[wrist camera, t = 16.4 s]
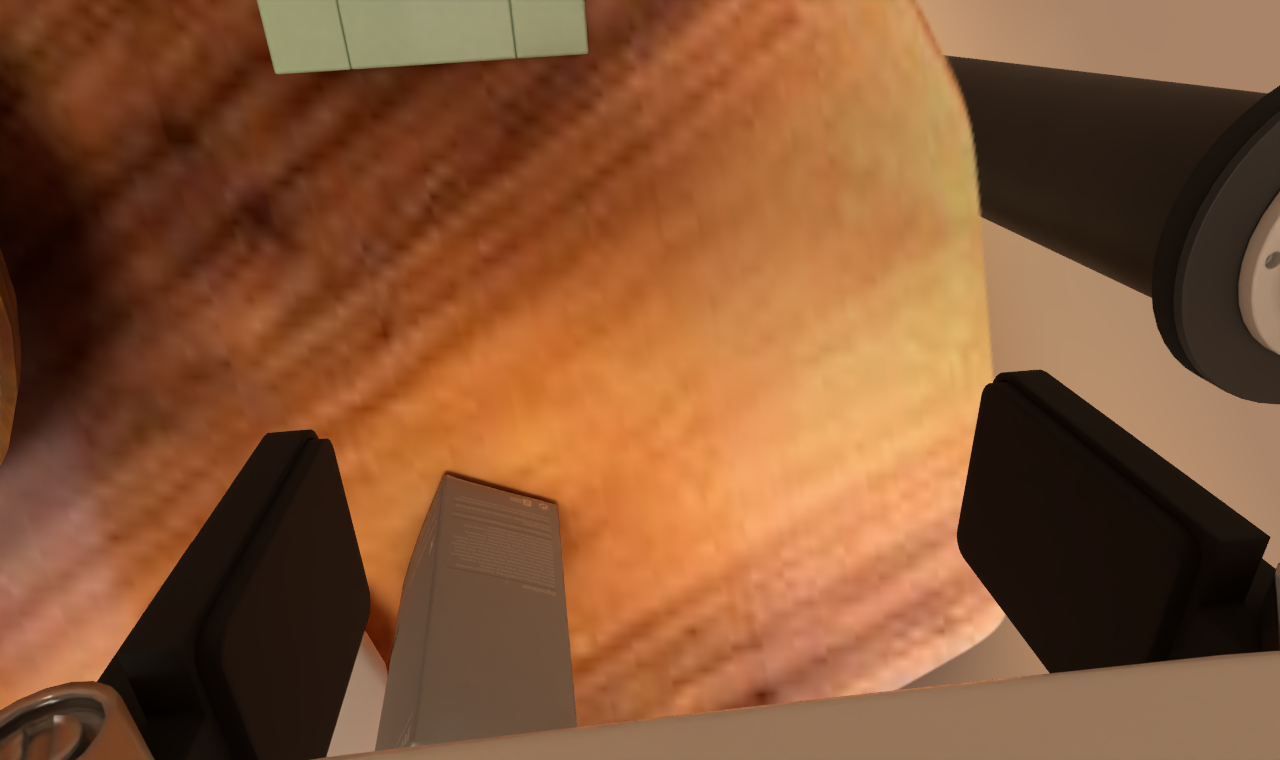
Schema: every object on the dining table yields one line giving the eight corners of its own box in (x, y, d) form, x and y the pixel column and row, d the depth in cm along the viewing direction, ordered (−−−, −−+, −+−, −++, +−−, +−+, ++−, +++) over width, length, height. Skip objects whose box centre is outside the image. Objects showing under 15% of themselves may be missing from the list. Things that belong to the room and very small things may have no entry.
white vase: (414, 560, 41) (359, 799, 29) (397, 733, 47) (345, 998, 34) (141, 537, 39) (-49, 790, 26) (157, 724, 44) (7, 1006, 32)
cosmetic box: (443, 468, 39) (389, 732, 25) (574, 505, 41) (593, 770, 27) (397, 591, 42) (324, 889, 28) (520, 620, 44) (511, 912, 30)
